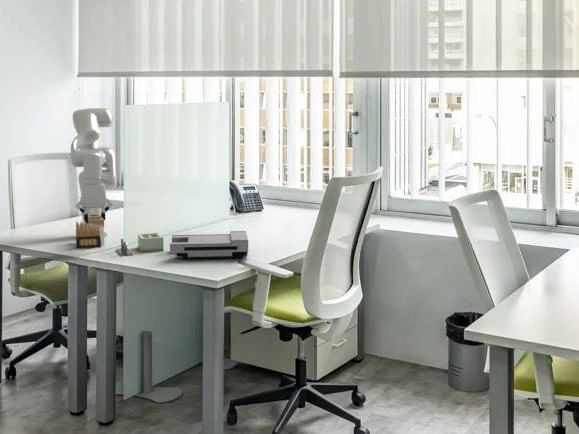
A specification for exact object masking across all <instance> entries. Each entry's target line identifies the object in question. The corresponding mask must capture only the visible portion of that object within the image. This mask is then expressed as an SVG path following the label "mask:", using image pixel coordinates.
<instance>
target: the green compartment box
mask: <svg viewBox="0 0 579 434" xmlns="http://www.w3.org/2000/svg"><path fill="white" fill-rule="evenodd" d="M137 244H138V245H137V248H138V249H139V250H140V251H141V252H142V253H153V252H163V251H164V237H163V236H162V235H161V234H160V233H159V232H149V233H138V234H137Z"/></svg>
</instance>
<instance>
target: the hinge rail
mask: <svg viewBox="0 0 579 434" xmlns="http://www.w3.org/2000/svg"><path fill="white" fill-rule="evenodd" d="M115 250H116V252H117V253H118V255H119V256H120V257H127V256H128V257H129V256H133V255H134V254H133V252H132V251H131V250H130V249H129V248H128V241H125V239H124V238H120V247H119V248H116V249H115Z"/></svg>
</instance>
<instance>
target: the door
mask: <svg viewBox="0 0 579 434" xmlns="http://www.w3.org/2000/svg"><path fill="white" fill-rule="evenodd" d="M88 226H89V227H90V228H94V227H104V228H105V220H104V219H103V218H102V216H101V215H100V214H88Z"/></svg>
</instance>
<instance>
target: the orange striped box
mask: <svg viewBox="0 0 579 434" xmlns="http://www.w3.org/2000/svg"><path fill="white" fill-rule="evenodd" d="M81 221H82V220H81ZM84 223H85V221H84V220H83V221H82V224H83V230H84ZM78 224H79V231H80V223H78ZM95 228H96V230H97V227H95ZM91 229H93V228H91ZM87 230H88V224H87ZM104 232H105V226H104V227H100V237H101V245H102V246H105V237H104ZM96 236H97V234H96ZM96 241H97V239H96ZM88 244H89V243H88ZM92 244H93V239H92Z"/></svg>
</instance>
